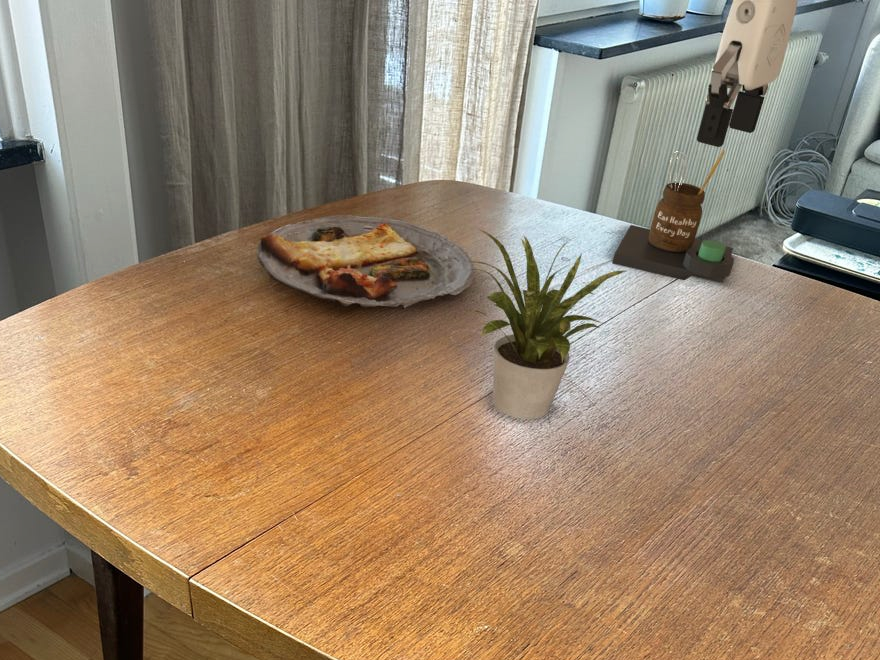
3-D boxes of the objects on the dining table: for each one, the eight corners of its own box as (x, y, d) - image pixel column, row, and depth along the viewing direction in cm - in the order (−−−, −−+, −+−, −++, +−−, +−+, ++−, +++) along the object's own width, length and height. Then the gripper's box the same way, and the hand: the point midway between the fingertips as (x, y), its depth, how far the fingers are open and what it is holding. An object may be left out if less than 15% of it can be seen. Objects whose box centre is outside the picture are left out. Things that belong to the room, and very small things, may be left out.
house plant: (403, 406, 90) (423, 229, 79) (483, 360, 98) (511, 195, 87) (530, 466, 84) (571, 285, 73) (603, 411, 93) (650, 243, 82)
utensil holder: (648, 233, 128) (674, 135, 119) (695, 242, 127) (725, 145, 119) (644, 247, 123) (671, 148, 115) (693, 257, 122) (723, 157, 114)
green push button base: (733, 258, 128) (740, 236, 126) (723, 293, 118) (731, 269, 116) (628, 235, 130) (633, 212, 128) (610, 266, 121) (616, 242, 119)
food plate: (311, 332, 99) (313, 299, 97) (225, 248, 113) (224, 217, 111) (506, 302, 110) (512, 272, 107) (405, 228, 124) (408, 200, 121)
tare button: (722, 257, 120) (727, 243, 119) (719, 265, 118) (724, 251, 117) (698, 252, 121) (703, 238, 119) (696, 260, 118) (700, 245, 117)
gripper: (778, -23, 97) (726, 158, 108) (833, -33, 108) (780, 132, 119) (710, -35, 100) (666, 142, 111) (770, -44, 111) (725, 118, 122)
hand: (725, 136), depth 115 cm, fingers open, 9 cm apart
